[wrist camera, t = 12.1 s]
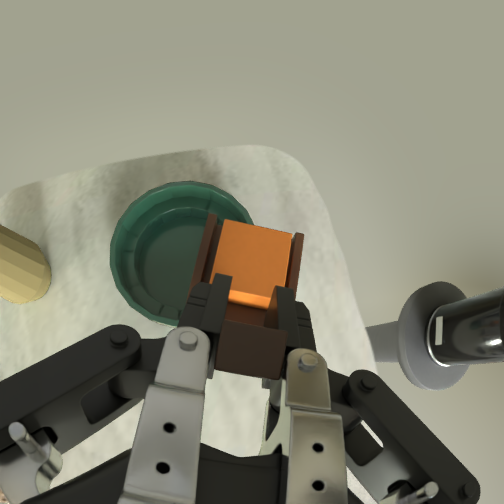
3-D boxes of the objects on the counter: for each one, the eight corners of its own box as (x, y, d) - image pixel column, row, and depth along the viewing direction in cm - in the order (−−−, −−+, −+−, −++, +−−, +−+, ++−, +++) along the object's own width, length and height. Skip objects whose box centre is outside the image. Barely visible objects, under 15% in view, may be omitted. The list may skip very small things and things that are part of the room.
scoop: (276, 366, 19) (359, 388, 7) (180, 348, 18) (126, 347, 7) (296, 244, 22) (369, 142, 10) (209, 225, 21) (207, 102, 10)
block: (269, 310, 19) (282, 300, 15) (210, 298, 19) (208, 285, 15) (278, 254, 21) (292, 233, 17) (222, 242, 20) (224, 218, 17)
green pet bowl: (262, 219, 36) (270, 197, 31) (238, 342, 31) (242, 341, 26) (147, 194, 35) (138, 171, 30) (110, 310, 30) (92, 302, 25)
